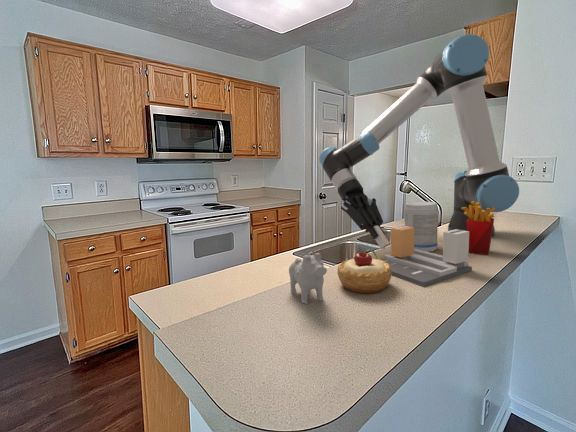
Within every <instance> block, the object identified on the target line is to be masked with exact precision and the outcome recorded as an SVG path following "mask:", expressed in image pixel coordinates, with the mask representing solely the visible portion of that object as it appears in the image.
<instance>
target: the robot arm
mask: <svg viewBox="0 0 576 432" xmlns="http://www.w3.org/2000/svg"><path fill="white" fill-rule="evenodd" d="M489 57H490V48H489V44H488V42H486V40H485V39H484V38H483V37H481V36H479V35H476V34H473V33H472V34H471V33H465V34H463V35H459V36H457V37H456V38H454V39H452V40H451V41H450V42H449V43H448V44H446V45H445V47H444V49H443V50H441V51H440V53H438V55H437V56H436V57H435V58H434V59H433V61H432V62H431V63H430V65H429V66H428V67H427V68H426V69H425V70H424V71H423V73H421V74H420V75H419V76H418V77H417V78H416V83H414V85H412V86H411V87H410V88H409V89H408V90H406V92H405V93H404V94H403V95H401V96H400V97H399V98H398V99H397V100H396V101H395V102H393V104H392V105H391V106H389V107H388V108H387V109H386V110H384V112H382V113H381V114H380V115H379V116H378V117H377V118H376V119H375V120H374V121H373V122H372V123H370V124H369V125H368V126H367V127H366V128H365V129H364V130H362V132H360V134H358V135H357V136H356V137H355V138H353V139H352V140H351V141H348V142H347V143H346V144H345V145H343V146H341V147H339V148H337V147H336V146H329V147H327V148H325V149H322V151H321V152H320V154H319V156H318V159H319V163H320V164H321V166H322V168H323V170H324V172H325V174H326V175H327V176H328V178H329V180H330V182H331V183H332V185H333V186H334V188H335V191H336V192H337V194H338V195H339V197H340V199H341V201H343V203H342V205H341V206H340V209H341V210H342V211H343V212H345V213H346V214H347V216H348V217H349V218H351V220H352V221H353V222H354V223H355V225H357V227H359V229H360V230H361V231H365V233H369V234H370V236H371V238H372V239H373V240H375V242H376V244H377V245H378V247H379V249H380V250H384V249H386V248H387V247H388V246H389V245H391V242H390V241H389V240H388V239H387V237H386V234H385V232H384V229H382V227H381V226H382V224H383V223H384V220H383V218H382V214H381V213H380V210H379V207H378V205H377V200H376V198H374V197H373V198H369V197H368V196H367V195H366V194H365V192H364V187H363V186H362V184H361V183H360V181H359V180H358V179H357V176H356V175H355V174H354V171H353V170H352V169H351V168H353V167H354V166H355V165H357V164H358V163H361V162H362V161H364V160H365V159H366V158H368V157H371V156H373V154H374V153H376V152H378V151H379V150H380V144H381V143H382V142H384V140H386V138H388V137H389V136H391V134H392V133H394V132H395V131H396V130H397V129H398V128H399V127H401V126H402V125H403V124H404V123H405V122H406V121H407V120H408V119H410V118H411V117H412V116H414V114H415V113H417V112H418V111H419V110H420V109H421V108H422V107H423V106H425V105H426V104H427V103H428V102H429V101H430V100H435V99H437V98H438V97H439V96H440V95H441V94H443V93H444V92H445V93H447V94H448V95H450V96H451V97H452V102H453V107H454V111H455V115H456V120H457V123H458V128H459V132H460V136H461V141H462V145H463V149H464V154H465V158H466V162H467V166H468V169H467V170H461V171H457V172H456V174H455V175H454V180H453V186H454V189H453V213H452V215H451V218H450V220H449V223H448V225H447V231H451V230H455V229H457V230H463V231H467V220H468V219H469V217H468V216H467V215H465V214H464V212H465V211H464V210H462V207H467V208H468V209H469V205H472V204H471V202H472V201H474V202H475V203H480V205H481V208H482V210H485V211H486V212H487V208H490V209H492V208H495V210H493V211H492V212H491V213H501V212H504V211H506V210H508V209H510V208H511V207H512V206H513V205H514V204H515V203H516V201H518V198H519V195H520V187H519V184H518V182H517V180H515V179H514V178H513V177H512V176H510V173H509V168H508V164H506V163H504V162H502V161H501V160H500V156H499V151H498V148H497V143H496V138H495V134H494V129H493V125H492V121H491V116H490V111H489V108H488V104H487V103H488V102H487V98H486V94H485V88H484V83H485V82H486V80H487V78H488V74H487V69H486V64H487V63H488V61H489ZM472 206H473V205H472ZM474 215H475V210H474ZM479 218H480V214H479ZM495 231H496V227H495V225H494V224H493V230H492V237H493V236H495Z"/></svg>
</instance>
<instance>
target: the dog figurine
mask: <svg viewBox="0 0 576 432" xmlns="http://www.w3.org/2000/svg"><path fill="white" fill-rule="evenodd" d="M327 271H328V269H327V268H326V267H324V262H323V260H322V255H321V253H320V252H316V253H314V254H311V255H307V254H306V255H303V257H302V258H299V257H298V258H297V257H296V259H295V260H294V262H292V263H291V264H290V265H289V267H288V274H289V278H290V280H289V281H290V293H291V292H296V291H297V289H296V285H297V284H298V286H299V289H300V290H301V291H300V292H301V294H300V297H301V299H300V301H301V302H302V303H306V304H305V305H307V304H309V303H308V299H309V294H310V293H309V292H310V291H311V290H315V292H316V300H317V299H318V301H320V300H321V301H324V300H323V299H324V296H323V294H324V293H323V285H324V278H325V277H324V275H326V274H327ZM296 293H297V292H296ZM301 302H300V303H301ZM302 303H301V304H302Z"/></svg>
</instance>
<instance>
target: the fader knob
mask: <svg viewBox="0 0 576 432" xmlns="http://www.w3.org/2000/svg"><path fill="white" fill-rule="evenodd" d="M390 254H391V255H393V256H395V257H398V258H402V259H405V260H410V255H414V228H412V227H409V226H405V225H401V226H397V227H392V228H390Z"/></svg>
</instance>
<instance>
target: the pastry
mask: <svg viewBox="0 0 576 432" xmlns="http://www.w3.org/2000/svg"><path fill="white" fill-rule="evenodd" d="M367 252H372V253H373V255H374V256H375V257H372V256H371V254H370V253H367ZM391 272H392V268H391V266H390V265H389V264H388V263H386V262H385V261H382V260H381V258H378V256H377V253H376V252H375V251H374V250H373V249H370V248H369V249H366V250H365V251H363V252H362V251H359V252H357V253H355V255H354V257H351V258H350V259H348V258H345V260H343V261H342V262H340V264H338V266H337V276H338V279H339V281H340V283H341V284H342V286H343V287H344V288H345V290H349V291H350V292H353V293H357V294H375V293H379V292H382V291H384V290H385V289H386V288H387V286H388V285H389V284H390V281H391V279H392V275H391Z"/></svg>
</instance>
